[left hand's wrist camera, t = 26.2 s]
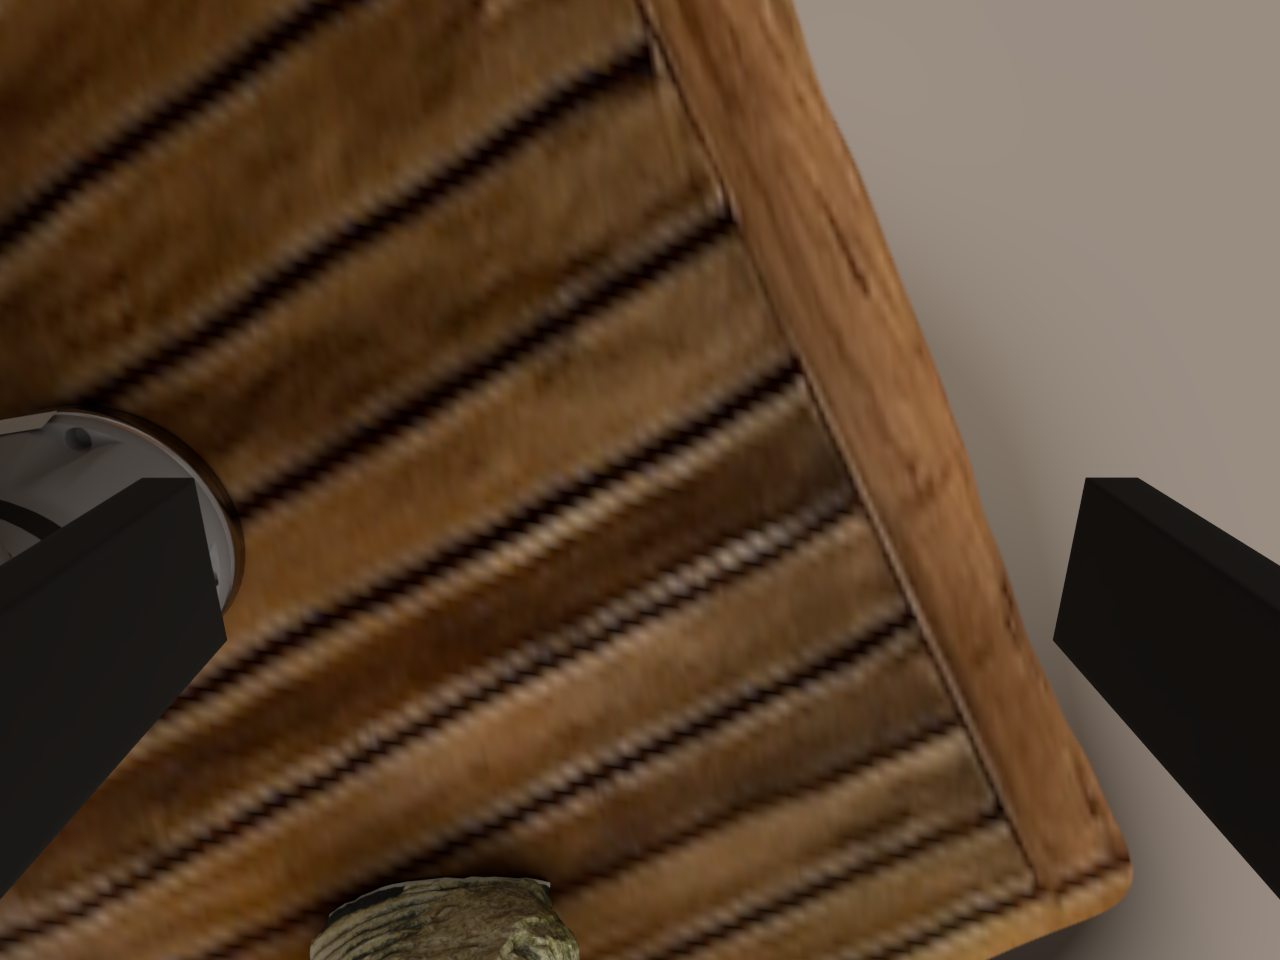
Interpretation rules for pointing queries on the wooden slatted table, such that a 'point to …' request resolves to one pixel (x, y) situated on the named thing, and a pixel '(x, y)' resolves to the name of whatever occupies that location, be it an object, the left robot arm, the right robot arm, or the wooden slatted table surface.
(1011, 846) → the wooden slatted table surface
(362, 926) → the fossil
